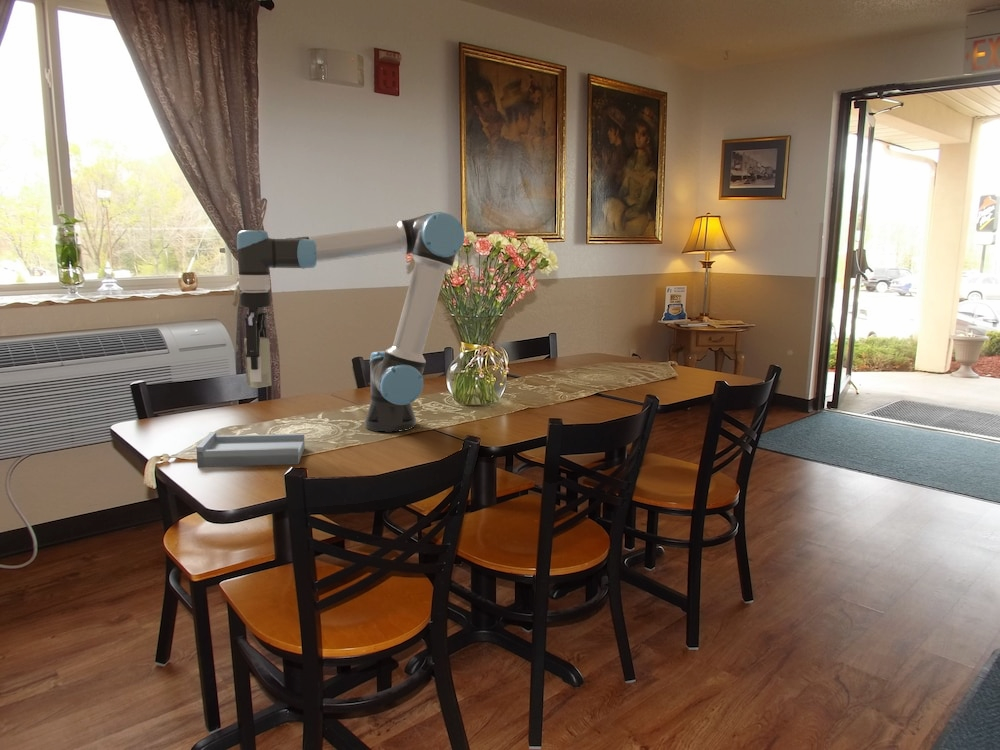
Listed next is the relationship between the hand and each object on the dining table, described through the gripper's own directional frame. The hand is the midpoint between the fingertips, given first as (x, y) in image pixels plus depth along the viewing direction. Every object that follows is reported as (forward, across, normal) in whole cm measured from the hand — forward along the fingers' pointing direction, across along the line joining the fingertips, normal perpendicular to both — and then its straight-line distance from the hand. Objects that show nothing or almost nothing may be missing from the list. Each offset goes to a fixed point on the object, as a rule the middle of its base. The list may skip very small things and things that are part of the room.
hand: (258, 378), depth 189 cm
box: (+2, 0, 0) cm, 2 cm away
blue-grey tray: (+19, +8, 0) cm, 21 cm away
